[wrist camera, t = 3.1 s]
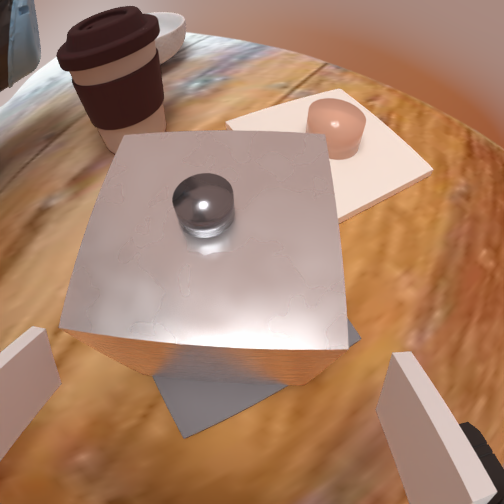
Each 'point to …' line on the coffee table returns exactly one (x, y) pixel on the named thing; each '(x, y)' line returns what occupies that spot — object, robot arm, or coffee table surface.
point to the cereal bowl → (169, 34)
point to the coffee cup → (117, 72)
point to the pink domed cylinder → (337, 126)
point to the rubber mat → (215, 398)
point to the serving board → (358, 166)
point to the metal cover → (214, 259)
